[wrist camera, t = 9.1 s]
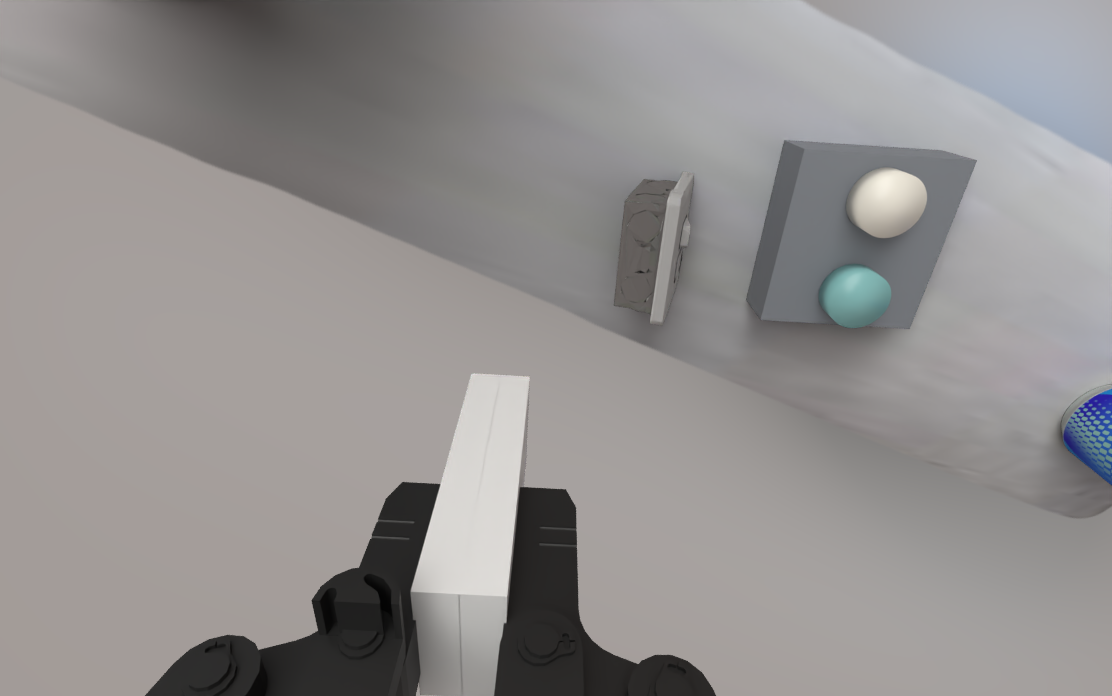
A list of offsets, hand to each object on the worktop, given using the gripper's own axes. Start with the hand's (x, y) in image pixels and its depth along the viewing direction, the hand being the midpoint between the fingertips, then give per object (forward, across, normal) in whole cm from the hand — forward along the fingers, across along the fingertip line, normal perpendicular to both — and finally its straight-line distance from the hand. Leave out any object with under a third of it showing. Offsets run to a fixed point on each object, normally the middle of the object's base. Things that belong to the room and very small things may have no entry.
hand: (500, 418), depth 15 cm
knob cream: (+31, +24, 0) cm, 39 cm away
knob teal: (+31, +24, -6) cm, 40 cm away
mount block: (+32, +24, -3) cm, 40 cm away
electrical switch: (+33, +9, -4) cm, 34 cm away
